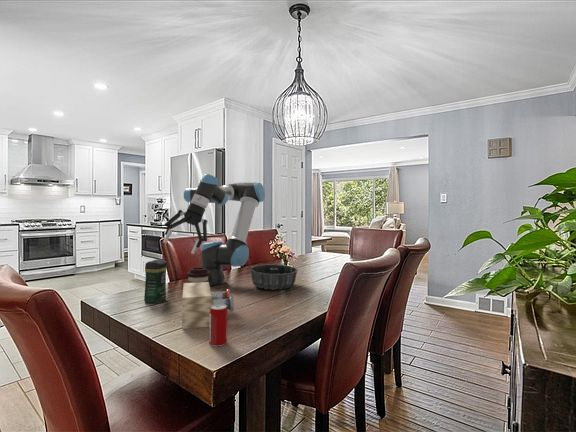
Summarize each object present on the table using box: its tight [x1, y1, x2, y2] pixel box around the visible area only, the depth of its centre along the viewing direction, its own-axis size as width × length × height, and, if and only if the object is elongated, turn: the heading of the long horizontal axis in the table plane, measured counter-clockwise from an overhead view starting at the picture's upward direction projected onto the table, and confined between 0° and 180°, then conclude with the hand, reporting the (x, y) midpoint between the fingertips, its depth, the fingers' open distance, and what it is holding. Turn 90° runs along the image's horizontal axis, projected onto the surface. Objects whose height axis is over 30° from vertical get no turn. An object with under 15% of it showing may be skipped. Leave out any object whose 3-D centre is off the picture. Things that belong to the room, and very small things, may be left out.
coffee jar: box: [143, 258, 168, 304], centre depth 142 cm, size 10×8×19 cm
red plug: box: [211, 288, 231, 300], centre depth 130 cm, size 12×6×6 cm, turn 107°
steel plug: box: [212, 295, 235, 313], centre depth 119 cm, size 12×6×6 cm, turn 107°
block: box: [181, 282, 212, 330], centre depth 122 cm, size 10×22×11 cm, turn 17°
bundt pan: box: [249, 263, 299, 291], centre depth 173 cm, size 26×26×10 cm
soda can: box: [208, 304, 229, 348], centre depth 99 cm, size 6×6×12 cm
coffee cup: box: [186, 266, 210, 283], centre depth 142 cm, size 10×10×15 cm
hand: (178, 248), depth 142 cm, fingers open, 13 cm apart
